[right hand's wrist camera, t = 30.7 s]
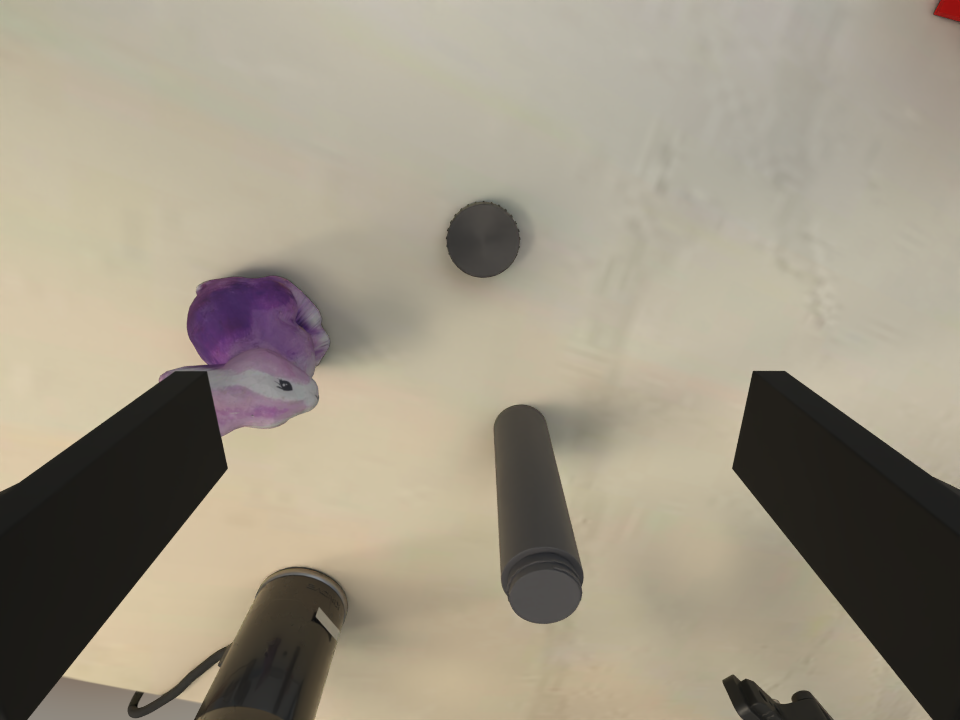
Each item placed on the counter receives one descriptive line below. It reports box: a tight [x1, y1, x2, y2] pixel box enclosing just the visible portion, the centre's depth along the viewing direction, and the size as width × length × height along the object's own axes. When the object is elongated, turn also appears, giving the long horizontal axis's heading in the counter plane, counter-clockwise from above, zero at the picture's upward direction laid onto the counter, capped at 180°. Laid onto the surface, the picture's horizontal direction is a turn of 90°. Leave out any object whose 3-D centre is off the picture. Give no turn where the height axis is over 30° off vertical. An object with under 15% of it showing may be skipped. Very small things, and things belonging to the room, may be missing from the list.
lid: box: [446, 201, 520, 278], centre depth 40 cm, size 6×6×2 cm
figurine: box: [159, 276, 330, 436], centre depth 36 cm, size 9×10×15 cm
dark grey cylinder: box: [494, 405, 583, 624], centre depth 38 cm, size 5×5×19 cm
